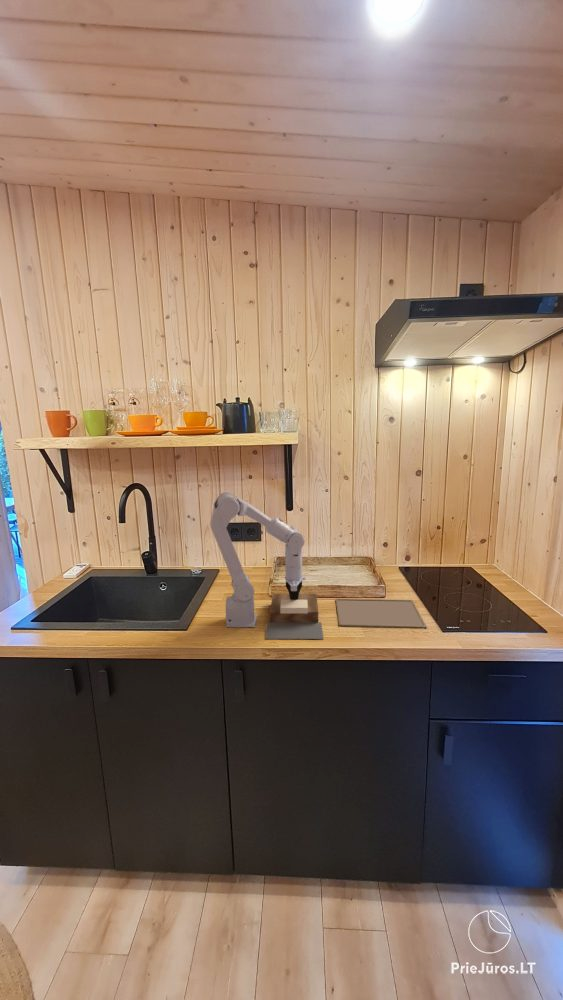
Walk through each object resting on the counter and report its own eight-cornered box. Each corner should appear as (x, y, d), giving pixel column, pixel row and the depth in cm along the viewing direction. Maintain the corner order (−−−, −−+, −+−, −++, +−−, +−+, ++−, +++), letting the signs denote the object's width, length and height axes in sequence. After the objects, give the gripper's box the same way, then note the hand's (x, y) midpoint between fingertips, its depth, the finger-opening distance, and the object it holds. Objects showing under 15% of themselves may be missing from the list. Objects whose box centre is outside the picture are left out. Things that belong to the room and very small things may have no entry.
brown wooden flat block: (270, 623, 135) (270, 612, 134) (272, 603, 149) (272, 593, 148) (318, 623, 134) (318, 612, 133) (316, 603, 148) (316, 593, 147)
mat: (265, 639, 125) (265, 638, 125) (267, 623, 135) (267, 622, 135) (323, 639, 124) (323, 638, 124) (321, 623, 134) (321, 622, 134)
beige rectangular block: (280, 613, 133) (280, 607, 133) (281, 605, 139) (281, 599, 138) (307, 613, 133) (307, 607, 132) (307, 605, 138) (307, 599, 138)
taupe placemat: (339, 627, 132) (426, 629, 130) (339, 624, 132) (426, 626, 130) (335, 601, 151) (412, 602, 149) (335, 598, 151) (412, 599, 148)
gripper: (306, 572, 130) (306, 611, 132) (305, 557, 144) (305, 592, 147) (284, 572, 130) (284, 611, 133) (285, 557, 144) (285, 592, 147)
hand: (294, 601), depth 140 cm, fingers closed
